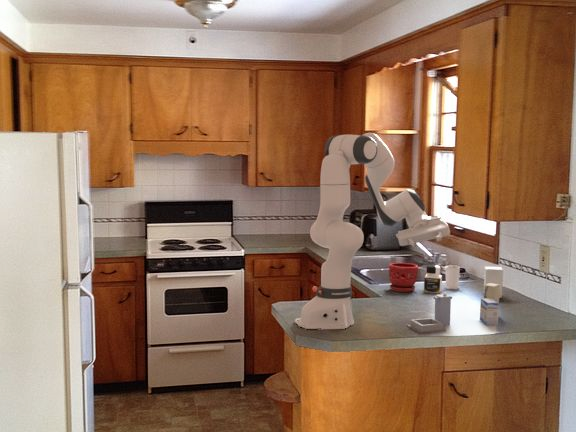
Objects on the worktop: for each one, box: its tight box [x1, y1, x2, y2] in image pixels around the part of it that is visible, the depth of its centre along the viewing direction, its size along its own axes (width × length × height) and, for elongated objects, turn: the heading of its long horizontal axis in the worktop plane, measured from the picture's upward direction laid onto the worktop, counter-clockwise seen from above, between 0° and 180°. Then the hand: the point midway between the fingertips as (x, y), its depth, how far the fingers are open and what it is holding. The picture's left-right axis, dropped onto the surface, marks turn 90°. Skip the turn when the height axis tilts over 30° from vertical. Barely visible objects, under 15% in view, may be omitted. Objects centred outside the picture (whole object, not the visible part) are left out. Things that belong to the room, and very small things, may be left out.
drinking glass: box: [444, 265, 461, 290], centre depth 331 cm, size 7×7×10 cm
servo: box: [433, 292, 453, 327], centre depth 267 cm, size 6×4×12 cm, turn 106°
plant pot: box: [388, 262, 419, 293], centre depth 326 cm, size 13×13×12 cm
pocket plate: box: [406, 317, 448, 334], centre depth 261 cm, size 11×10×3 cm
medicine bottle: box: [423, 264, 443, 294], centre depth 324 cm, size 7×7×12 cm
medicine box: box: [479, 297, 500, 326], centre depth 269 cm, size 8×4×9 cm, turn 4°
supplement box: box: [483, 266, 504, 299], centre depth 315 cm, size 7×7×13 cm
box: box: [483, 283, 500, 317], centre depth 278 cm, size 5×4×13 cm
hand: (426, 242), depth 273 cm, fingers open, 8 cm apart
